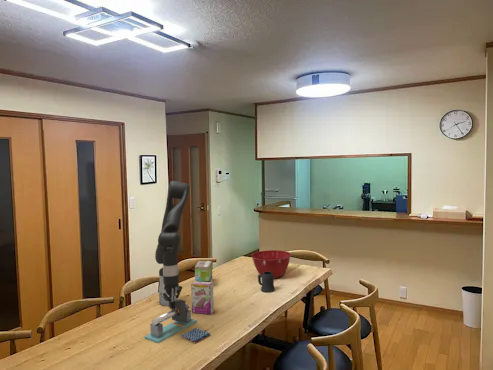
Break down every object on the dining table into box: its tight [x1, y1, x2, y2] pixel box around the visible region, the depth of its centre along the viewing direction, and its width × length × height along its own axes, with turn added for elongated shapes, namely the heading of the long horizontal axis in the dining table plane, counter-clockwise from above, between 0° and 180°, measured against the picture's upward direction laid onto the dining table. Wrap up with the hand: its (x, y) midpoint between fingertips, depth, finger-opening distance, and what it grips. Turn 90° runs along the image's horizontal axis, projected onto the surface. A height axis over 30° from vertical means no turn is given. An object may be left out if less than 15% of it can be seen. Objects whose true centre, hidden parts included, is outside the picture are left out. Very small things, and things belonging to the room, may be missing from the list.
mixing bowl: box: [250, 249, 292, 279], centre depth 259 cm, size 28×28×15 cm
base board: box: [144, 318, 198, 344], centre depth 177 cm, size 26×9×1 cm, turn 145°
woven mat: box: [180, 327, 211, 345], centre depth 169 cm, size 10×11×2 cm
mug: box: [257, 271, 276, 294], centre depth 230 cm, size 12×9×11 cm
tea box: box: [194, 260, 213, 283], centre depth 243 cm, size 15×10×15 cm, turn 179°
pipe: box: [149, 302, 192, 338], centre depth 177 cm, size 22×5×9 cm, turn 145°
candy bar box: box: [190, 280, 215, 316], centre depth 197 cm, size 11×5×16 cm, turn 74°
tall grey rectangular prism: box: [171, 298, 187, 323], centre depth 181 cm, size 3×7×10 cm, turn 55°
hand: (172, 308), depth 177 cm, fingers closed
